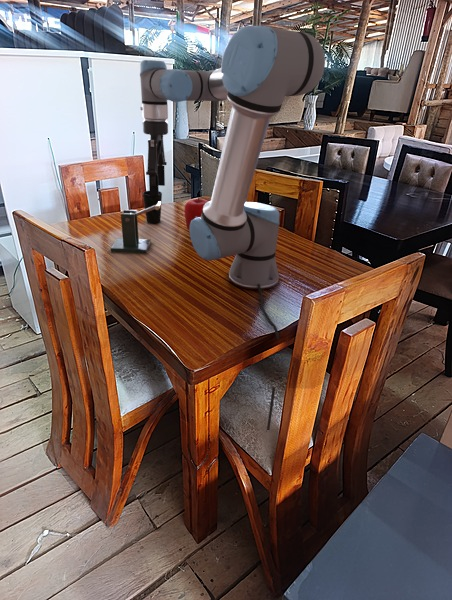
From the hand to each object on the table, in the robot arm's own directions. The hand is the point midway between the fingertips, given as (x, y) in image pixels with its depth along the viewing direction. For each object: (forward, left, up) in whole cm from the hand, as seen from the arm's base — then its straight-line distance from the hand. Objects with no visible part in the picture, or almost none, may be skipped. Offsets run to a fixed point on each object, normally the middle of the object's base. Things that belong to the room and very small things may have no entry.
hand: (157, 190), depth 131 cm
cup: (+29, +7, -21) cm, 36 cm away
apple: (+19, -12, -21) cm, 30 cm away
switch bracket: (0, +10, -21) cm, 23 cm away
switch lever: (0, +5, -8) cm, 10 cm away
